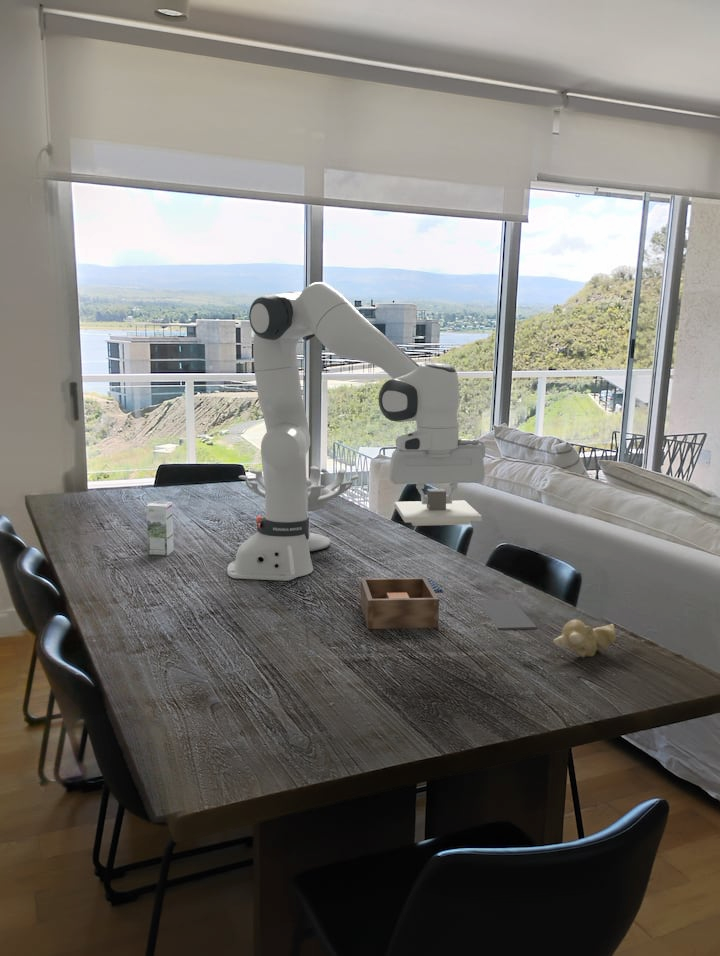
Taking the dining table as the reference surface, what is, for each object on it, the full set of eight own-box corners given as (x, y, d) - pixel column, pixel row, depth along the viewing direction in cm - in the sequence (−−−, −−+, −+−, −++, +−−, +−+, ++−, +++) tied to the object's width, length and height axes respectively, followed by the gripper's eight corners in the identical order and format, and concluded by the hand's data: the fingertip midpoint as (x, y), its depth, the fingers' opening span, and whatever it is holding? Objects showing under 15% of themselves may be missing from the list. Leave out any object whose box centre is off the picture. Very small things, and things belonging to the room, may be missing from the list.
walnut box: (367, 632, 163) (368, 600, 162) (360, 608, 178) (360, 578, 176) (438, 630, 165) (439, 599, 163) (425, 606, 179) (425, 577, 178)
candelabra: (362, 533, 246) (363, 447, 241) (349, 564, 211) (351, 465, 207) (256, 528, 249) (255, 444, 244) (226, 559, 215) (225, 461, 210)
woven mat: (404, 600, 185) (404, 592, 184) (391, 587, 195) (391, 579, 194) (445, 597, 187) (446, 589, 187) (430, 584, 197) (430, 576, 197)
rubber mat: (454, 630, 165) (454, 628, 165) (437, 602, 182) (437, 600, 182) (536, 628, 167) (536, 626, 167) (512, 600, 184) (512, 599, 184)
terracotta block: (388, 619, 169) (389, 599, 168) (386, 612, 173) (386, 592, 172) (409, 618, 169) (410, 599, 168) (406, 611, 173) (406, 592, 173)
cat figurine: (621, 624, 153) (580, 617, 147) (620, 661, 152) (578, 656, 145) (587, 623, 160) (546, 616, 154) (586, 658, 159) (544, 653, 152)
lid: (404, 528, 159) (405, 498, 158) (394, 511, 175) (394, 484, 174) (481, 526, 161) (482, 497, 160) (464, 509, 177) (464, 482, 175)
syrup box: (174, 550, 222) (173, 501, 219) (167, 556, 216) (165, 505, 214) (154, 550, 222) (153, 500, 220) (147, 555, 217) (145, 504, 214)
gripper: (481, 437, 169) (480, 499, 171) (388, 438, 167) (388, 501, 170) (489, 441, 163) (487, 505, 165) (392, 442, 161) (391, 507, 163)
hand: (436, 503), depth 167 cm, fingers closed on lid, 3 cm apart
